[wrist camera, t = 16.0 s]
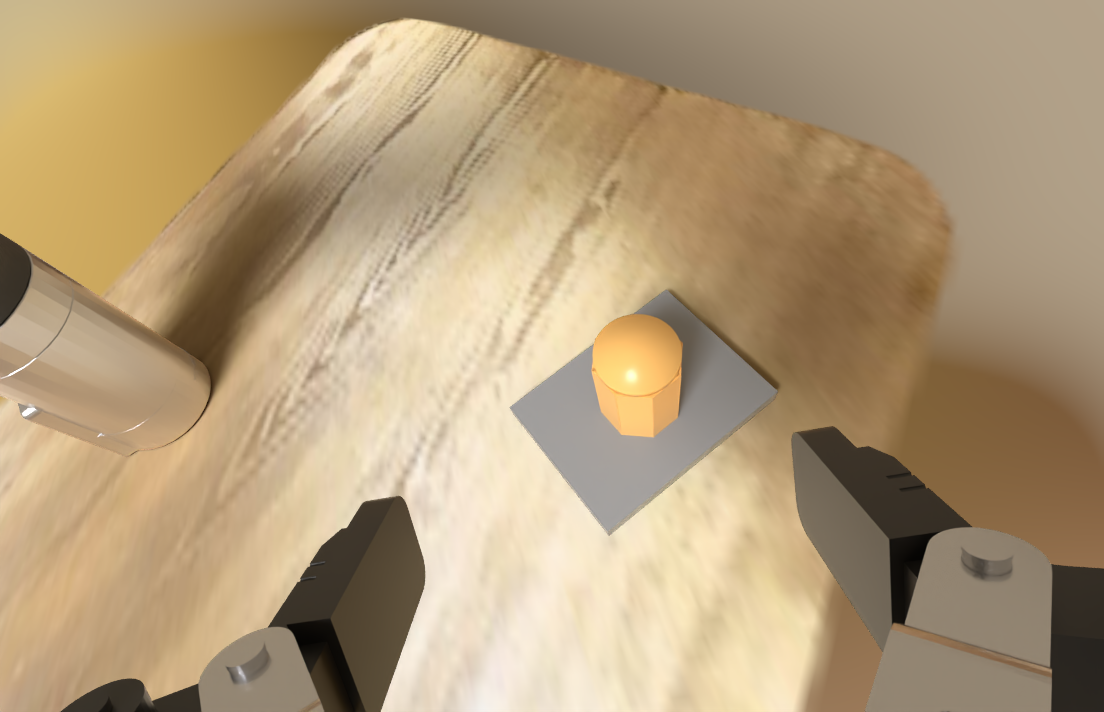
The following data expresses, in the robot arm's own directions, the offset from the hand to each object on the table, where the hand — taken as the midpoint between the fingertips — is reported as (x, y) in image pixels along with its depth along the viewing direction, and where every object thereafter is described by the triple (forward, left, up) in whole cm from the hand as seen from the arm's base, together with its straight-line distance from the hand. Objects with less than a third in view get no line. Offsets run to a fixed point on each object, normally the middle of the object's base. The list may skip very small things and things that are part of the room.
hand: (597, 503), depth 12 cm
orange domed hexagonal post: (+9, +11, -29) cm, 32 cm away
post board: (+9, +11, -31) cm, 34 cm away
